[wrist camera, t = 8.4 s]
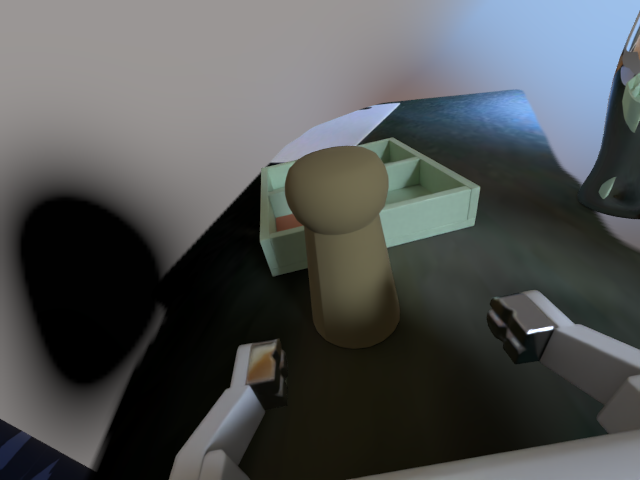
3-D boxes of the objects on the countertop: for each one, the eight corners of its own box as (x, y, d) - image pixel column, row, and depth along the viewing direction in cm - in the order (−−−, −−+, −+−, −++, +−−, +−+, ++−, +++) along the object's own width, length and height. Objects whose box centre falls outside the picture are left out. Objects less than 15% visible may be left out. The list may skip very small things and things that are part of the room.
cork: (364, 269, 22) (348, 128, 16) (420, 316, 18) (427, 144, 12) (298, 303, 20) (252, 160, 14) (341, 367, 16) (300, 194, 10)
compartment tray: (272, 277, 24) (259, 241, 22) (269, 193, 39) (261, 168, 37) (474, 225, 24) (480, 186, 22) (393, 164, 40) (392, 137, 38)
